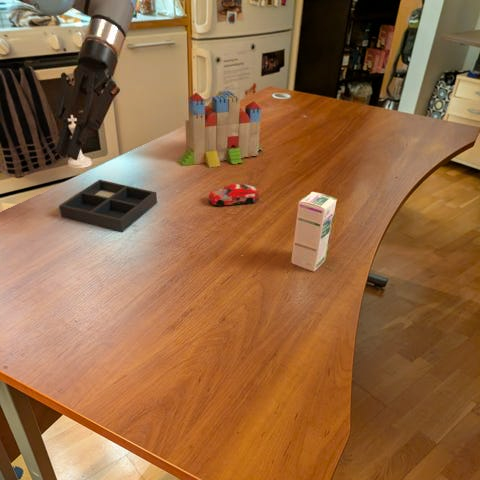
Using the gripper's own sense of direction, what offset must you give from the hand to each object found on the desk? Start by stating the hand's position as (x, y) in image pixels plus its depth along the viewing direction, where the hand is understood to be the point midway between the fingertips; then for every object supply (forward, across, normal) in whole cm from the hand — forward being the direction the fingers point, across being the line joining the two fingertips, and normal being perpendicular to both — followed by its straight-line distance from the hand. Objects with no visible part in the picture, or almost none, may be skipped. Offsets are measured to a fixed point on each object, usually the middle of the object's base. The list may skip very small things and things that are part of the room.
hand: (66, 155), depth 95 cm
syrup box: (+6, -52, -17) cm, 55 cm away
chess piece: (0, 0, -5) cm, 5 cm away
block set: (-27, -13, -50) cm, 59 cm away
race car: (-8, -27, -31) cm, 42 cm away
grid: (+5, -2, -18) cm, 19 cm away
